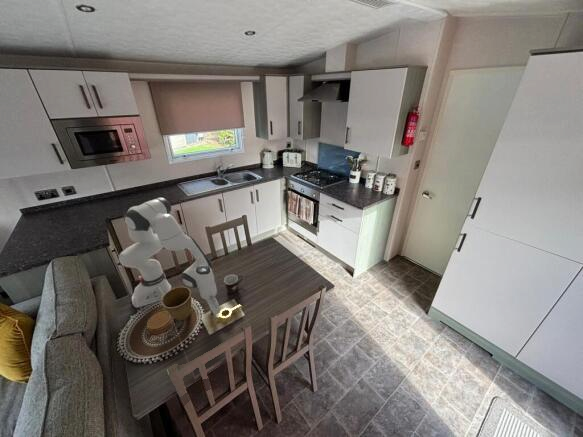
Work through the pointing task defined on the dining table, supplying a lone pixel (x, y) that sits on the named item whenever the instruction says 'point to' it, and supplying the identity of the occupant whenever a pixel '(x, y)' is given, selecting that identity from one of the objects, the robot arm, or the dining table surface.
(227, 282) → the coffee mug
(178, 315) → the plant pot
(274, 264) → the dining table surface
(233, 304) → the board
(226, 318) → the hinge
